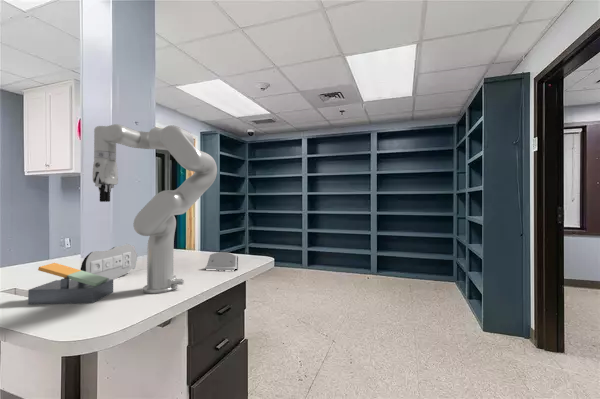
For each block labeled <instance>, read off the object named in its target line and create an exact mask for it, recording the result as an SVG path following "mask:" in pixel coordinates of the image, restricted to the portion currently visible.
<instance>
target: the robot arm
mask: <svg viewBox="0 0 600 399" xmlns="http://www.w3.org/2000/svg"><path fill="white" fill-rule="evenodd" d="M93 135H94V136H93V138H94V139H93V141H94V142H93V167H92V182H93V183H94V186H95V187H97V188H98V192H99V202H101V203H103V202H104V203H106V202H107V203H108V202H110V201H111V192H112V189H113V188H115V185H116V186H117V185H118V184H119V172H118V170H119V169H118V164H117V144H118V145H121V146H126V147H129V148H134V149H143V150H161V151H162V150H164V151H168V153H170V155H171V156H172V157H173V159H175V161H176V162H177V163H178V164H179V165H180V166H181V167H182V168H184V169H185V170H186V171H190V172H194V173H193V174H192V175H190V176H189V177H187V178H186V179H185V180H184V181H183V182H182V183H181V185H179V187H177V188H176V189H174V190H173V189H172V190H171V189H169V190H168V189H166V190H161V191H160V192H158V193H156V195H154V196H153V197H152V198H151V199H150V200H149V201H148V202H147V203H146V204H145V205H144V206H143V207H142V209H140V211H139V212H138V213H137V214H136V216H135V217H134V220H133V229H134V231H135V232H136V233H137V234H139V235H140V236H143V237H148V240H147V245H146V246H147V252H146V254H147V255H146V258H147V262H146V263H147V264H146V277H147V278H146V285H144V286H143V287H142V292H143V293H145V294H162V293H169V292H172V291H174V290H175V289H177V288H178V286H179V285H184V283H185V281H184V280H185V279H183V278H177V275H174V264H175V263H174V258H175V257H174V256H175V255H174V252H175V250H174V249H175V247H174V245H175V244H174V243H175V242H174V241H175V234H176V233H175V232H176V228H177V219H176V217H175V216H177V215H178V216H179V215H180V216H181V215H184V214H186V213H187V211H188V210H190V208H192V207H193V205H194V204H196V202H197V201H198V200H199V199H200V198H201V197H202V195H203V194H204V193H206V191H208V190H209V188H210V187H211V186H212V185H213V184H214V182H215V180H216V178H217V175H218V166H217V163H216V160H215V159H214V157H213V156H212V155H210V154H208V153H207V152H205V151H202V150H199V149H197V148H196V147H195V146H194V145H195V139H194V136H193V135H192V134H191V133H190V132H189V131H187V130H186V129H183V128H181V127H179V126H176V125H171V124H170V125H167V126H165V127H163V128H161V127H153V128H151V129H149V131H142V130H141V131H140V130H135V129H132V128H131V127H127V126H124V125H122V124H117V123H116V124H111V125H107V126H106V125H98V126H95V128H94V131H93Z"/></svg>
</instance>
